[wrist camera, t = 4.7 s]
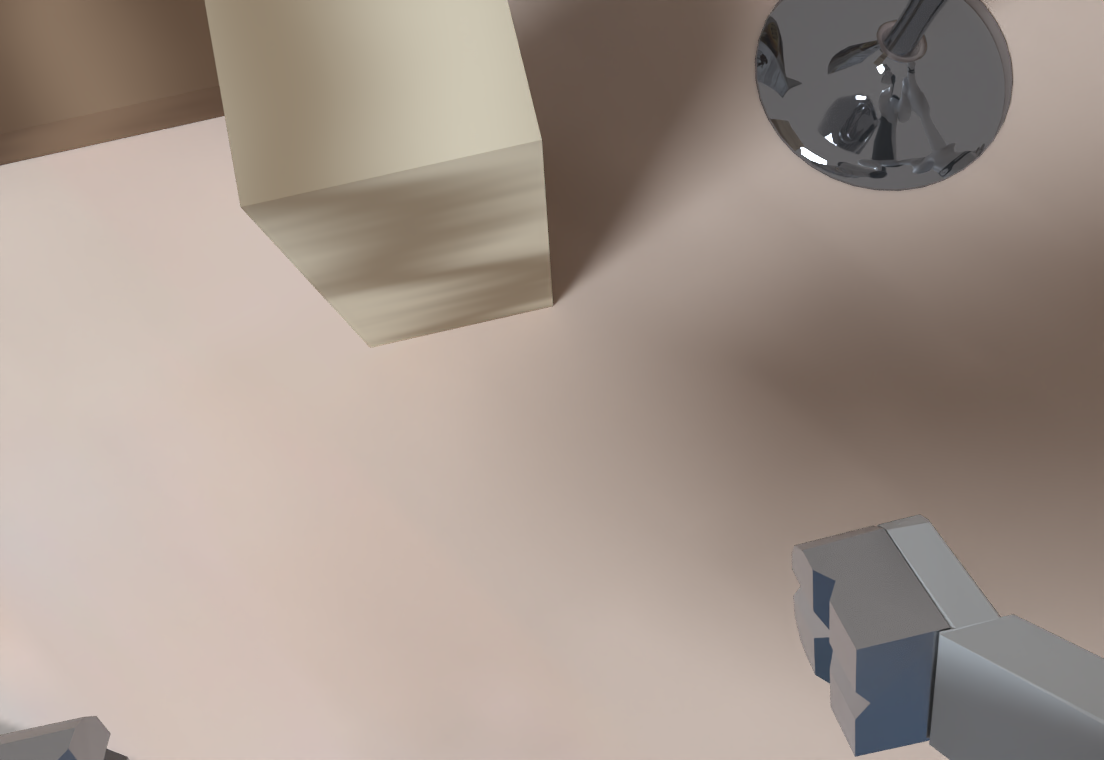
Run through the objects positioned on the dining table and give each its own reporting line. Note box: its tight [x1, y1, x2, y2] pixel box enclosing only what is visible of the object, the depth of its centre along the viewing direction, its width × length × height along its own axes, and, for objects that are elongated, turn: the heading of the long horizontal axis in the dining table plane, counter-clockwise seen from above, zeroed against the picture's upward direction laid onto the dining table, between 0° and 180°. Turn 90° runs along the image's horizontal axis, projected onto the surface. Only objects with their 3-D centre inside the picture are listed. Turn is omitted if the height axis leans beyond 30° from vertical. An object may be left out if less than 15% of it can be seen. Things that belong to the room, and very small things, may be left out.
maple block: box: [205, 0, 553, 348], centre depth 21 cm, size 5×5×10 cm
